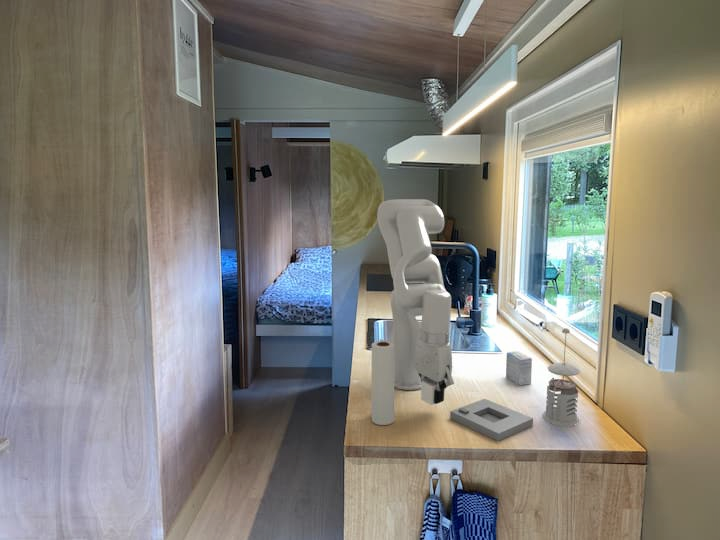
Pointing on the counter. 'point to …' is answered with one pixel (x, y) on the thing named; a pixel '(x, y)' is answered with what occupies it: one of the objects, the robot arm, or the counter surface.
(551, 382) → the french press
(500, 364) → the counter surface
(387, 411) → the paper towel roll
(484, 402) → the socket plate
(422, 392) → the plug
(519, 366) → the medicine box
